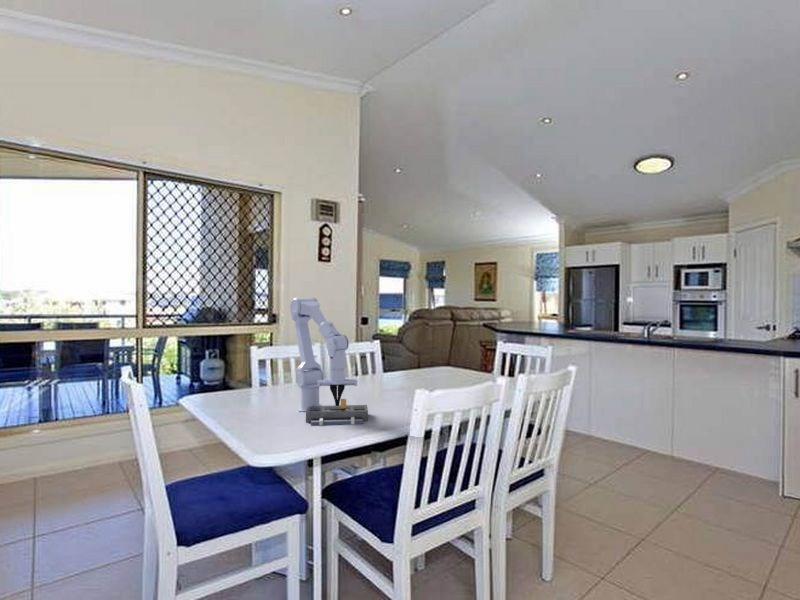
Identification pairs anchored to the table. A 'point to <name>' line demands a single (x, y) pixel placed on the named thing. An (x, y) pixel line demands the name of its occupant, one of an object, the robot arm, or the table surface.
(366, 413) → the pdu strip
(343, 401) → the lever
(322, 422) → the cords
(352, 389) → the table surface
